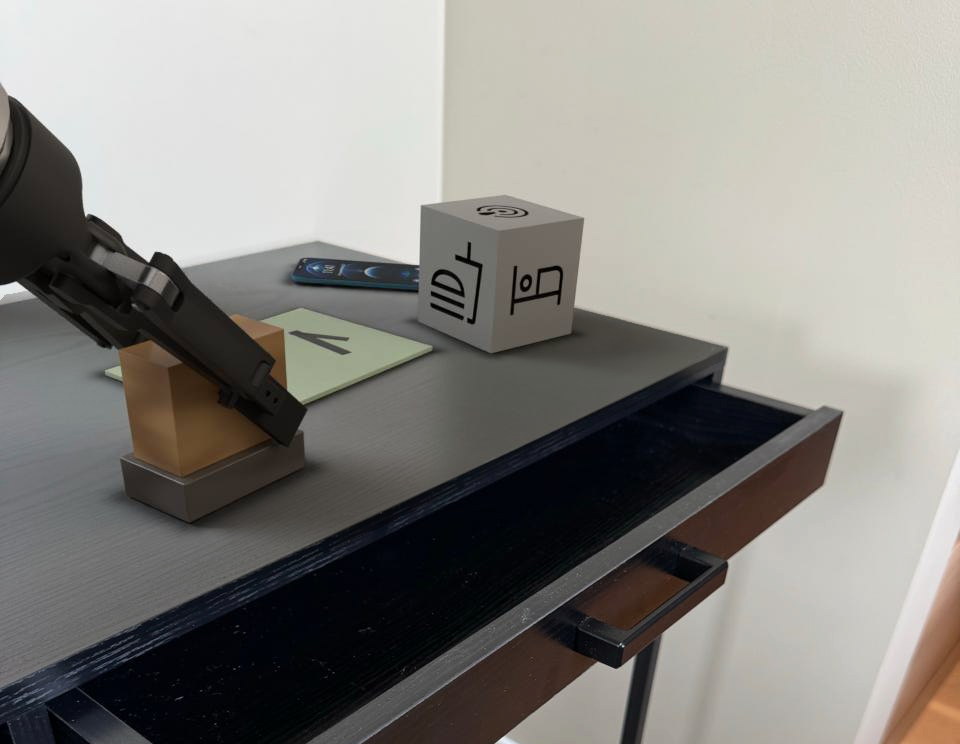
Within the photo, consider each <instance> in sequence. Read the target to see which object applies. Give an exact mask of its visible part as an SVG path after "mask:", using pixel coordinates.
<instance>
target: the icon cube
mask: <svg viewBox="0 0 960 744" xmlns="http://www.w3.org/2000/svg"><path fill="white" fill-rule="evenodd" d="M419 217H420V220H419V221H420V222H419V223H420V224H419V258H418V259H419V264H418V265H419V290H418V302H417V303H418V306H417V307H418V308H417V309H418V310H417V322H419V323H421V324H423V325H425V326H427V327H429V328H432V329H434V330H435V331H439V332H441V333H444V334H445V335H448V336H450V337H453V338H455V339H457V340H459V341H461V342H464V343H466V344H468V345H470V346H473V347H475V348H478V349H480V350H482V351H485V352H486V353H488V354H494V353H498V352H502V351H506V350H510V349H514V348H518V347H522V346H528V345H531V344H535V343H539V342H542V341H547V340H550V339H555V338H558V337H563V336H567V335H570V334H572V329H573V327H572V326H573V320H574V313H575V312H574V310H575V303H576V302H575V301H576V295H577V294H576V293H577V287H578V286H577V285H578V278H579V277H578V276H579V268H580V260H581V259H580V258H581V251H582V244H583V243H582V242H583V234H584V224H585V217H583V216H579V215H576V214H572V213H569V212H566V211H562V210H559V209H556V208H552V207H549V206H545V205H542V204H538V203H535V202H533V201H532V202H531V201H528V200H525V199H521V198H517V197H514V196H511V195H508V194H501V195H493V196H492V195H491V196H485V197H476V198H466V199H459V200H451V201H444V202H435V203H428V204H427V203H426V204H420V216H419Z"/></svg>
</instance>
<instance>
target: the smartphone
mask: <svg viewBox="0 0 960 744" xmlns="http://www.w3.org/2000/svg"><path fill="white" fill-rule="evenodd" d="M298 260H299V261H298V262H297V263H296V266H295V267H294V270H293V271H292V273H291V280H292V281H295V282H298V283H309V284H324V285H339V286H355V287H368V288H383V289H397V290H410V291H419V264H409V263H408V264H407V263H395V262H380V261H366V260H351V259H339V258H337V259H336V258H323V257H301V258H300V259H298Z"/></svg>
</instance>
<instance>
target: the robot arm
mask: <svg viewBox="0 0 960 744" xmlns="http://www.w3.org/2000/svg"><path fill="white" fill-rule="evenodd" d="M83 190H84V189H83V176H82V171H81V167H80V166H79V163H78V161H77V159H76V157H75V155H74V154H73V152H72V151H71V150H70V149H69V148H68V147H67V146H66V145H65V144H64V143H63V142H62V141H61V140H60V139H59V138H58V137H57V136H56V135H55V134H54V133H53V132H52V131H51V130H50V129H49V128H48V127H46V125H45V124H44V123H42V122H41V121H40V119H38V118H37V117H36V115H35V114H33V113H32V112H31V111H30V110H29V109H28V108H27V107H26V106H25V105H24V104H23V103H22V102H21V101H20V100H18V99H17V98H15V97H13V96H11V95H9V94H8V92H7V90H6V89H5V88H4V85H3V84H2V83H1V82H0V287H3V286H7V285H10V284H13V283H17V284H19V285H20V286H21V287H23V288H24V289H25V290H26V291H28V292H29V293H30V294H32V295H33V296H35V297H36V298H37V299H38V300H40V301H41V302H42V303H43V304H45V305H46V306H47V307H49V308H50V309H52V310H53V311H54V312H55V313H57V314H58V315H59V316H61V317H62V318H63V319H65V320H66V321H67V322H68V323H70V324H71V325H73V326H74V327H75V328H76V329H78V330H79V331H80V332H82V333H83V334H84V335H85V336H87V337H88V338H89V339H91V340H92V341H93V342H95V343H96V345H97V346H98V347H99V348H102V349H107V350H112V349H113V347H114V348H115V349H116V350H117V351H118V350H120V349H123V348H127V347H130V346H133V345H136V344H140V343H143V342H146V341H150V340H151V341H153V342H154V343H155V344H157V345H158V346H160V347H161V348H163V349H164V350H165V351H167V352H168V353H170V354H171V355H173V356H174V357H175V358H177V359H178V360H180V361H181V362H183V363H184V364H185V365H187V366H188V367H190V368H191V369H193V370H194V371H195V372H197V373H198V374H200V375H201V376H203V377H204V378H205V379H207V380H208V381H210V382H211V383H213V384H214V385H215V386H217V387H218V388H220V391H219V392H218V395H219V396H220V397H219V399H218V401H217V403H218V404H220V405H222V406H223V407H225V408H228V409H231V410H232V409H233V407H234V408H235V409H237V410H238V411H239V412H240V413H242V414H243V415H244V416H245V417H247V418H248V419H249V420H250V421H252V422H253V423H254V424H255V425H256V426H258V427H259V428H260V429H261V430H263V431H264V432H265V433H266V434H268V435H269V436H270V437H271V438H273V439H274V440H275V441H276V442H278V443H279V444H281V445H283V446H286V447H289V445H290V443H291V441H292V439H293V437H294V435H295V433H296V431H297V430H298V429H299V428H300V426H301V424H302V422H303V420H304V418H305V416H306V414H307V412H308V410H309V409H308V408H307V407H306V406H305V404H304V405H303V404H302V403H300V402H299V401H298V400H297V399H296V398H295V397H294V396H293V395H292V394H291V393H290V392H288V391H287V390H286V389H285V388H284V387H283V386H282V385H281V384H280V383H279V382H277V381H276V380H275V379H274V378H273V377H272V376H271V375H270V372H271V370H272V368H273V366H274V364H275V362H276V360H275V359H274V358H273V357H272V356H271V354H270V353H268V352H267V351H266V350H264V349H263V348H262V347H261V346H260V345H259V344H258V343H257V342H256V341H255V340H254V339H252V338H251V337H250V336H249V335H248V334H247V333H246V332H245V331H244V330H243V329H242V328H240V327H239V326H238V325H237V324H236V323H235V322H234V321H233V320H232V319H231V318H230V317H228V316H229V315H227V313H225V311H223V310H222V309H221V308H220V307H219V306H218V305H216V304H215V303H214V302H213V301H212V300H211V298H209V297H208V296H207V295H206V294H204V292H202V291H201V290H200V289H199V288H198V287H197V286H196V285H195V284H194V283H193V282H192V281H191V280H190V278H189V277H188V276H187V275H186V274H185V273H186V272H184V271H183V269H182V267H180V265H179V263H177V262H176V261H175V260H174V259H173V257H172V256H170V255H169V254H167V253H163V252H161V251H154V253H153V254H152V256H151V257H150V260H149V261H148V260H147V259H145V258H144V257H142V256H141V255H140V254H139V253H137V252H136V251H135V250H133V248H131V247H130V246H128V245H127V244H126V242H124V239H123V236H122V235H121V234H120V233H119V231H118V230H116V229H115V228H113V227H112V226H111V225H110V224H108V223H107V222H106V221H104V220H103V219H101V218H100V217H98V216H97V215H94V214H92V213H87V214H85V213H86V212H85V207H84V200H83V199H84V198H83Z"/></svg>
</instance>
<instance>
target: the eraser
mask: <svg viewBox="0 0 960 744" xmlns="http://www.w3.org/2000/svg"><path fill="white" fill-rule="evenodd" d="M227 316H228V317H230V318H231V319H232V320H233V321H234V322H235V323H236V324H237V325H238V326H239V327H240V328H242V329H243V330H244V331H245V332H246V333H247V334H248V335H249V336H250V337H251V338H252V339H254V340H255V341H256V342H257V343H258V344H259V345H260V346H261V347H262V348H263V349H264V350H266V351H267V352H268V353H270V354H271V356H272V357H273V358H274V359H275V360H276V362H275V364H274V366H273V368H272V370H271V372H270V375H271V376H272V377H273V378H274V379H275V380H276V381H277V382H279V383H280V384H281V385H282V386H283V387H284V388H285V389H286V390H287V374H286V356H285V338H284V329H283V328H280V327H276V326H273V325H270V324H267V323H264V322H260V321H261V320H257V319H253V318H251V317H247V316H245V315H240V314H237V313H234V314H232V315H227ZM117 353H118V360H119V366H121V373H122V379H123V382H122V386H123V391H124V392H123V393H124V397H125V404H126V410H127V416H128V423H129V429H130V430H129V431H130V435H131V441H132V448H133V451H132V452H130V453H126V454H125V455H122V456H120V457H119V461H120V466H121V473H122V478H123V479H122V480H123V486H124V490H125V495H126V496H129V497H131V498H132V499H135V500H137V501H139V502H141V503H144V504H146V505H148V506H150V507H153V508H155V509H157V510H160V511H162V512H164V513H166V514H168V515H170V516H173V517H175V518H177V519H179V520H181V521H183V522H185V523H189V524H190V523H192V522H194V521H196V520H199V519H200V518H203V517H204V516H206V515H209V514H210V513H212V512H215V511H217V510H219V509H221V508H223V507H225V506H227V505H229V504H231V503H233V502H235V501H237V500H240V499H241V498H243V497H246V496H247V495H250V494H252V493H254V492H256V491H258V490H260V489H262V488H264V487H266V486H267V485H268V486H269V485H270V484H272V483H274V482H276V481H278V480H280V479H282V478H285V477H287V476H289V475H291V474H293V473H295V472H297V471H299V470H301V469H302V468H304V467H306V452H305V449H306V448H305V432H304V430H302V429H299V428H298V430H297V431H296V433H295V435H294V437H293V439H292V441H291V443H290V445H289V447H286V446H283V445H281V444H279V443H278V442H276V441H275V440H274V439H273V438H271V437H270V436H269V435H268V434H266V433H265V432H264V431H263V430H261V429H260V428H259V427H258V426H256V425H255V424H254V423H253V422H252V421H250V420H249V419H248V418H247V417H245V416H244V415H243V414H242V413H240V412H239V411H238V410H237V409H235V408H234V407H233V409H232V410H231V409H228V408H225V407H223V406H222V405H220V404H218V403H217V401H218V399H219V397H220V396H219V395H218V392H219V391H220V388H218V387H217V386H215V385H214V384H213V383H211V382H210V381H208V380H207V379H205V378H204V377H203V376H201V375H200V374H198V373H197V372H195V371H194V370H193V369H191V368H190V367H188V366H187V365H185V364H184V363H183V362H181V361H180V360H178V359H177V358H175V357H174V356H173V355H171V354H170V353H168V352H167V351H165V350H164V349H163V348H161V347H160V346H158V345H157V344H155V343H154V342H153V341H151V340H150V341H146V342H143V343H140V344H136V345H133V346H130V347H127V348H123V349H120V350H118V349H117Z"/></svg>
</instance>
